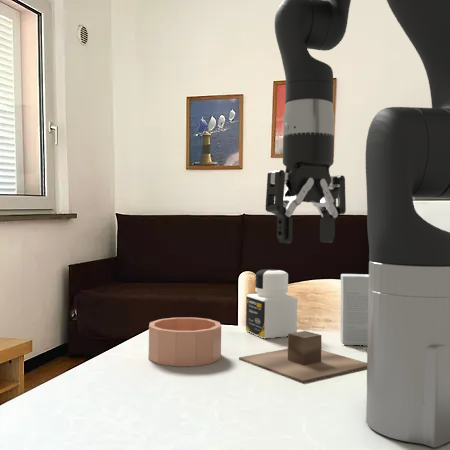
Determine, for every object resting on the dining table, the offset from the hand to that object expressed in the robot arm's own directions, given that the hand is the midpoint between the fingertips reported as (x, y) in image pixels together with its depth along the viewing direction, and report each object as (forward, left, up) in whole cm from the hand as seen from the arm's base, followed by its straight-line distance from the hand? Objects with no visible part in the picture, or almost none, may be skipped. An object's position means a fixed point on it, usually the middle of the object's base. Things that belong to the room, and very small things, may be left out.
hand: (306, 242), depth 80 cm
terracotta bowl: (+13, +13, -18) cm, 26 cm away
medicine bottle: (+18, -9, -18) cm, 27 cm away
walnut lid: (0, 0, -19) cm, 19 cm away
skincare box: (+4, -17, -18) cm, 25 cm away
